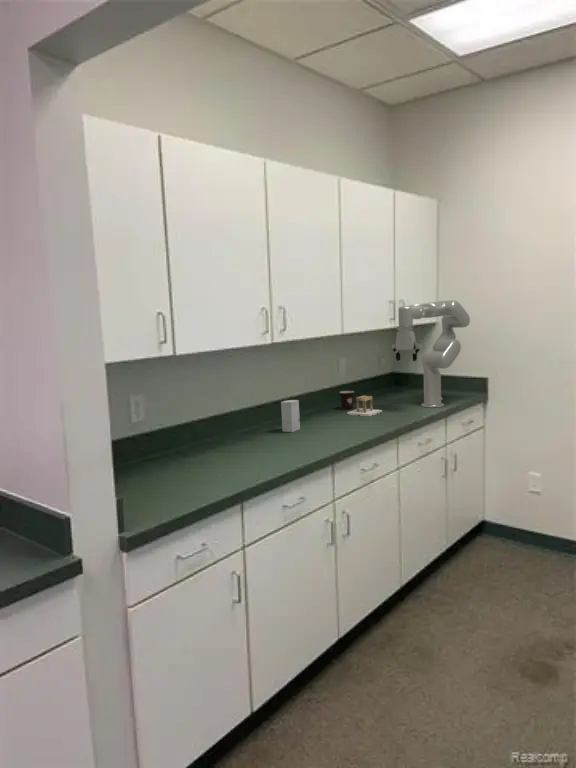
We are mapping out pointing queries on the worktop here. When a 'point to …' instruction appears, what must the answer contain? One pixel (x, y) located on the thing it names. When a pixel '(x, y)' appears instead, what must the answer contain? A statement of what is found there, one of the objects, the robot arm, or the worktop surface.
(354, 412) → the white board
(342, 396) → the coffee mug
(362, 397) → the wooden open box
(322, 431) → the worktop surface
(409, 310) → the robot arm
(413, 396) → the worktop surface
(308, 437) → the worktop surface
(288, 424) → the skincare box
